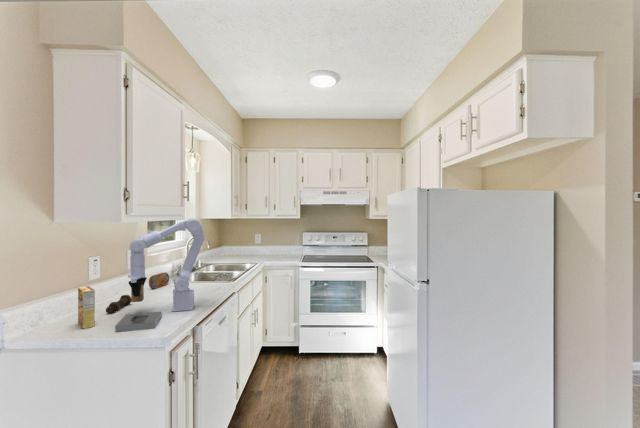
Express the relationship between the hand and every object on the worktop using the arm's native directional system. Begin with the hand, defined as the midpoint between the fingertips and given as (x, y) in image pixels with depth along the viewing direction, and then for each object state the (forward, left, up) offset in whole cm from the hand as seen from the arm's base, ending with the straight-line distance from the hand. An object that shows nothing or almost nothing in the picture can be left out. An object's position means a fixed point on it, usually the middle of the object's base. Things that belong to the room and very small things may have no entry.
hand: (138, 295), depth 144 cm
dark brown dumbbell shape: (+11, -11, -9) cm, 18 cm away
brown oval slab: (+1, -53, -9) cm, 54 cm away
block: (0, 0, -3) cm, 3 cm away
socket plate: (-4, +14, -9) cm, 17 cm away
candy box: (+17, +9, -9) cm, 21 cm away
